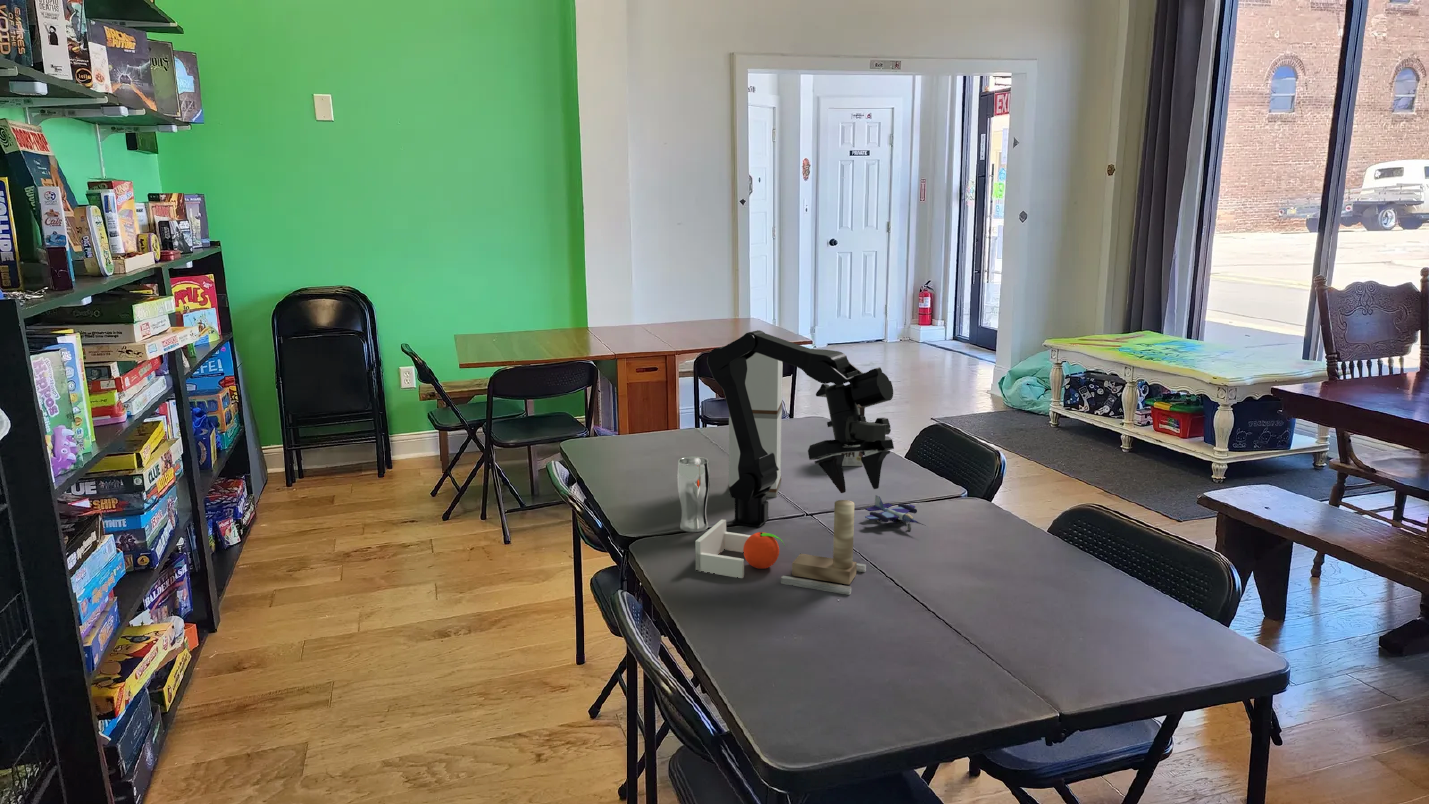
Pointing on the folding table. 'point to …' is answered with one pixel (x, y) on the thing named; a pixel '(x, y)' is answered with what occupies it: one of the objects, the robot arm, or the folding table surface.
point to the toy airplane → (892, 512)
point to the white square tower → (762, 413)
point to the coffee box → (854, 457)
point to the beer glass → (693, 492)
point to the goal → (716, 543)
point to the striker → (842, 561)
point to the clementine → (761, 550)
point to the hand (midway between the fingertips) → (860, 490)
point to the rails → (821, 583)
